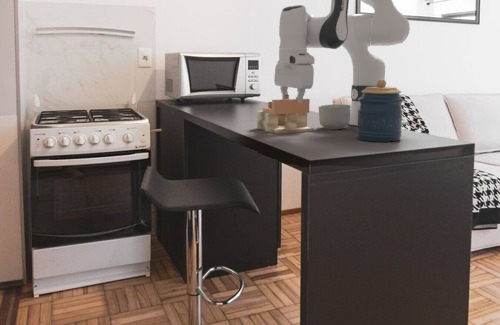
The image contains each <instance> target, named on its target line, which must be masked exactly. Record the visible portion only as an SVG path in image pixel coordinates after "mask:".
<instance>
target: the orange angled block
mask: <svg viewBox="0 0 500 325" xmlns="http://www.w3.org/2000/svg"><path fill="white" fill-rule="evenodd" d="M271 102H272V109H269V108H268V107H262V111H263V112H268V113H272V114H291V113H307V114H309V113H310V98H303V102H302V103H297V102H296V98H292V99H290V98H289V99H271Z"/></svg>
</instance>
